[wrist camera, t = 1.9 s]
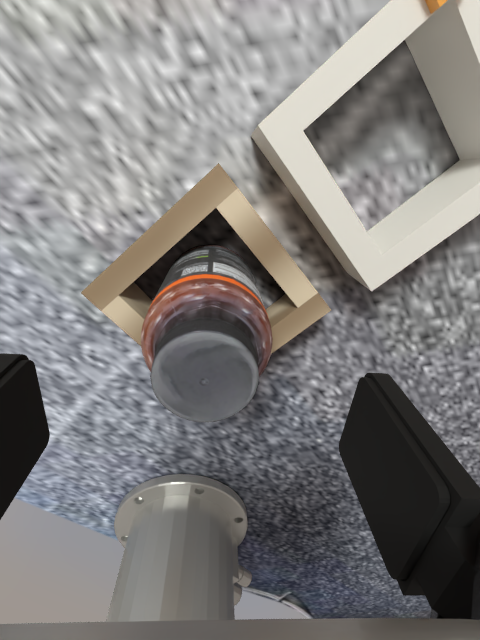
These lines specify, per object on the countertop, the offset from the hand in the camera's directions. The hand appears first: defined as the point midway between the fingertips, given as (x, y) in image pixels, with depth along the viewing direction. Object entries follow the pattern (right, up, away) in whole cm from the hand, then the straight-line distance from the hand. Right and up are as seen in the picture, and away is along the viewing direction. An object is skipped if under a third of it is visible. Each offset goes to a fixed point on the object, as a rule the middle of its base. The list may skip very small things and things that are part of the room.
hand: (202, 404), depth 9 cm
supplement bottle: (-1, +5, +13) cm, 14 cm away
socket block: (+9, +13, +9) cm, 18 cm away
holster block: (-1, +5, +12) cm, 13 cm away
